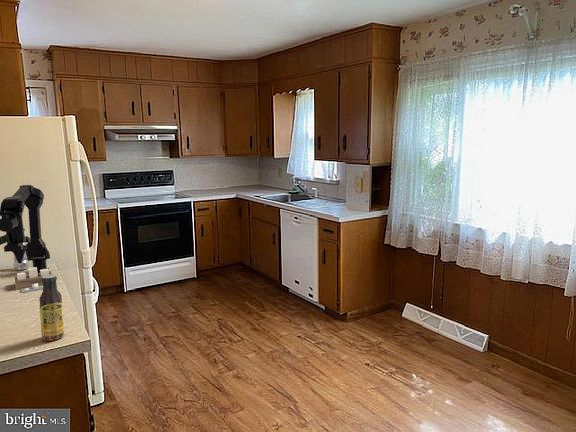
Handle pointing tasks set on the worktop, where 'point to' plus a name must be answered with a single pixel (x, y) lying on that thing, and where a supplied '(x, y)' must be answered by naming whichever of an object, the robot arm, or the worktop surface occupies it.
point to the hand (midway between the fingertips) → (19, 263)
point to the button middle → (33, 272)
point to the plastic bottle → (24, 262)
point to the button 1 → (21, 276)
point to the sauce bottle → (51, 310)
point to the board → (29, 281)
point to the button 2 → (44, 272)
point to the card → (32, 288)
